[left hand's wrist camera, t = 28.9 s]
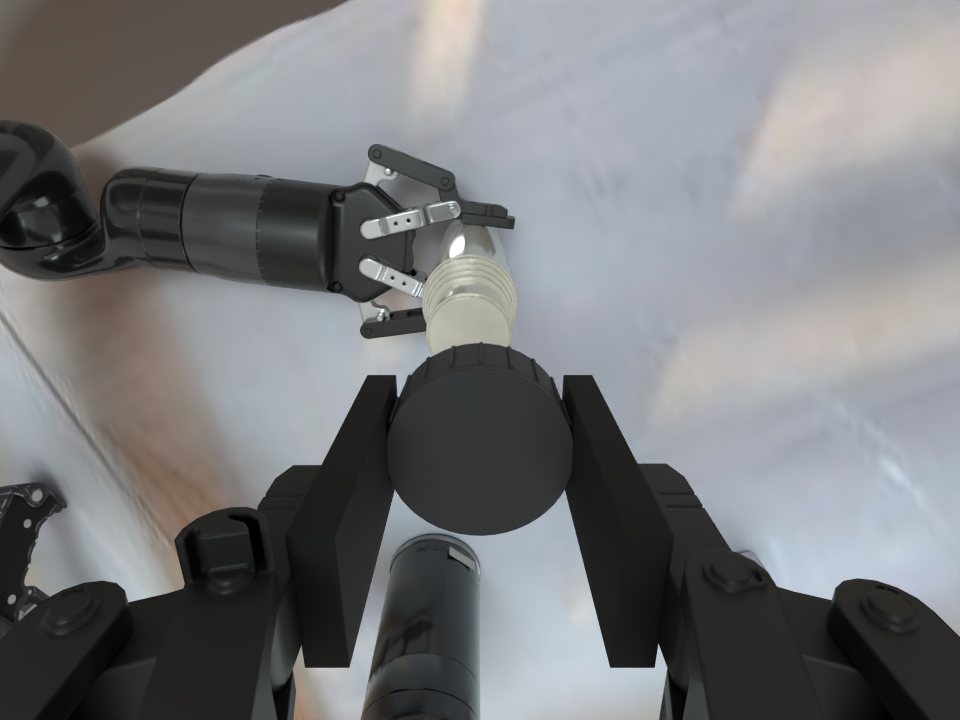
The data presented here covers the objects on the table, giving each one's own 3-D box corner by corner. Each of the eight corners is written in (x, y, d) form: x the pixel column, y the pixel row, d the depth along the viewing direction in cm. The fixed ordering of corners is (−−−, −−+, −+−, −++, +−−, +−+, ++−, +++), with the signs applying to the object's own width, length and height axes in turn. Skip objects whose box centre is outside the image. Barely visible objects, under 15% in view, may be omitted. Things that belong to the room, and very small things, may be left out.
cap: (512, 516, 16) (516, 563, 14) (367, 451, 15) (352, 492, 13) (596, 389, 14) (613, 422, 13) (441, 310, 14) (435, 334, 12)
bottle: (434, 257, 46) (392, 365, 22) (456, 204, 44) (435, 258, 21) (486, 279, 47) (498, 407, 23) (509, 227, 45) (548, 306, 21)
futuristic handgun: (153, 611, 69) (98, 751, 58) (-8, 473, 50) (-137, 644, 39) (183, 607, 69) (133, 747, 58) (33, 468, 50) (-85, 638, 39)
